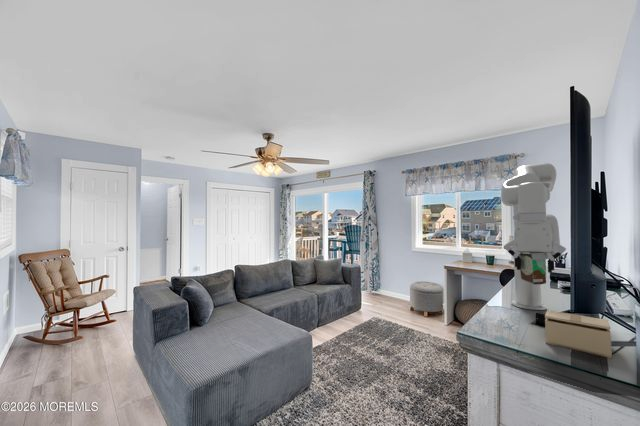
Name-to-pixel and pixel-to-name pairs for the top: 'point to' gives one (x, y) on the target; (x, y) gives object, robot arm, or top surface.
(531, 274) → the food container
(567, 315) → the lid
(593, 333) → the carton
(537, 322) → the black box
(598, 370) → the top surface
